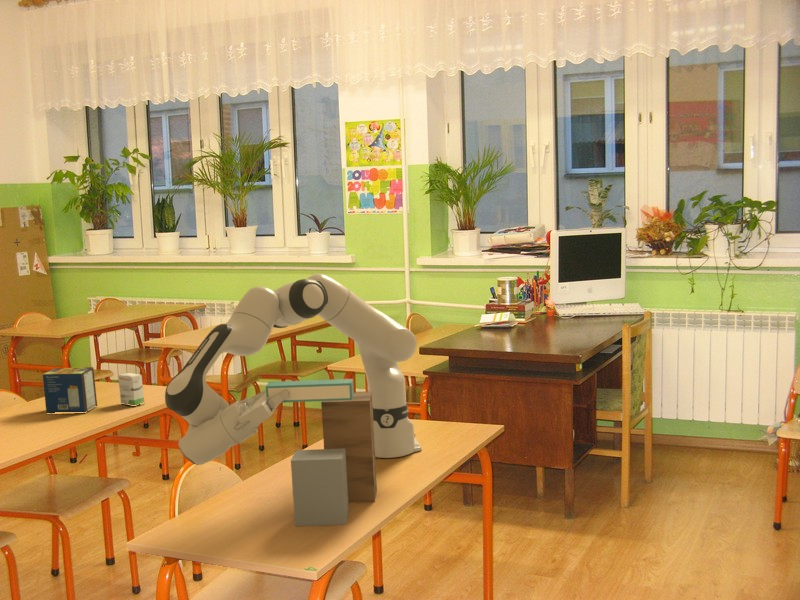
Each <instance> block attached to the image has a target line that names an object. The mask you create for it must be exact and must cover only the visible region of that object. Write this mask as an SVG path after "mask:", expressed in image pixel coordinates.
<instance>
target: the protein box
mask: <svg viewBox="0 0 800 600" xmlns="http://www.w3.org/2000/svg"><path fill="white" fill-rule="evenodd" d="M42 382H43V392H44V402H45V403H44V404H45V412H46V413H55V412H86V411H88V410H90V409H92V408H94V407H95V406H97V407H98V400H97V392H96V390H97V389H96V381H95V371H94V367H93V366H86V367H56V368H52V369H51V370H49V371H47V372H43V373H42ZM94 409H95V408H94Z"/></svg>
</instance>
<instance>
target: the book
mask: <svg viewBox="0 0 800 600" xmlns="http://www.w3.org/2000/svg"><path fill="white" fill-rule="evenodd" d="M265 390H266V397H269V399H271V398H273V397H275V396H277V395H278V394H280V393H281V392H282V391H284V390H287V391H288V392H289V394H290V396H289V397H288V398H287V399H285V400H284V401H283V402H281V403H280V404H282V403H300V402H301V403H305V402H307V403H309V402H310V403H311V402H322V401H338V400H352V399H353V396H354V393H355V390H354V379H353V378H339V379H315V380H314V379H313V380H310V379H309V380H308V379H307V380H288V381H287V380H284V381H283V380H282V381H269V382H268V383H267V384H266V385H265Z"/></svg>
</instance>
